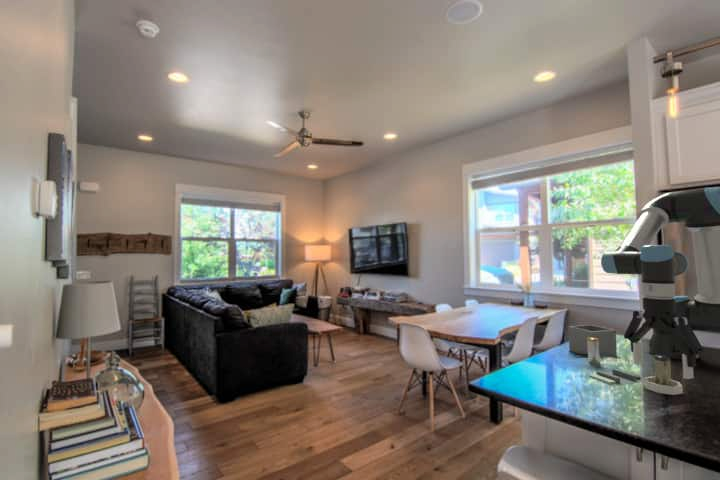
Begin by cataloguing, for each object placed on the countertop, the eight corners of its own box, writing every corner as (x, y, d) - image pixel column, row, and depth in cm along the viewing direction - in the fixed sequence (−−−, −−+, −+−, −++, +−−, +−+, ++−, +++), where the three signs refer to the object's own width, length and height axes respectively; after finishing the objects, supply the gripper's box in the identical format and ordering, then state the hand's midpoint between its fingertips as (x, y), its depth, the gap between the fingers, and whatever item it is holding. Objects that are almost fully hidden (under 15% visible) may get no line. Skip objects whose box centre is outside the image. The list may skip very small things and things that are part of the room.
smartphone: (610, 352, 150) (609, 349, 151) (597, 359, 141) (596, 356, 141) (588, 348, 157) (588, 345, 157) (574, 355, 147) (574, 352, 147)
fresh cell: (593, 364, 134) (592, 337, 134) (602, 367, 130) (601, 339, 130) (585, 365, 133) (584, 337, 133) (594, 368, 129) (593, 340, 130)
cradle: (618, 375, 121) (617, 366, 122) (649, 385, 112) (648, 375, 112) (585, 379, 118) (584, 370, 118) (614, 391, 108) (613, 380, 108)
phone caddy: (591, 347, 156) (590, 324, 156) (616, 355, 145) (615, 329, 145) (569, 350, 153) (568, 326, 153) (593, 357, 142) (592, 332, 142)
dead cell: (658, 388, 108) (657, 354, 109) (673, 391, 105) (672, 357, 106) (653, 390, 106) (651, 356, 107) (668, 394, 103) (667, 359, 104)
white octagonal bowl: (658, 387, 110) (657, 375, 110) (689, 397, 102) (688, 384, 103) (638, 390, 108) (637, 378, 108) (667, 401, 100) (667, 388, 100)
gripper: (609, 293, 117) (611, 359, 117) (699, 303, 93) (703, 387, 93) (626, 292, 119) (629, 357, 119) (719, 302, 95) (723, 383, 95)
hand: (661, 370), depth 106 cm, fingers open, 13 cm apart
